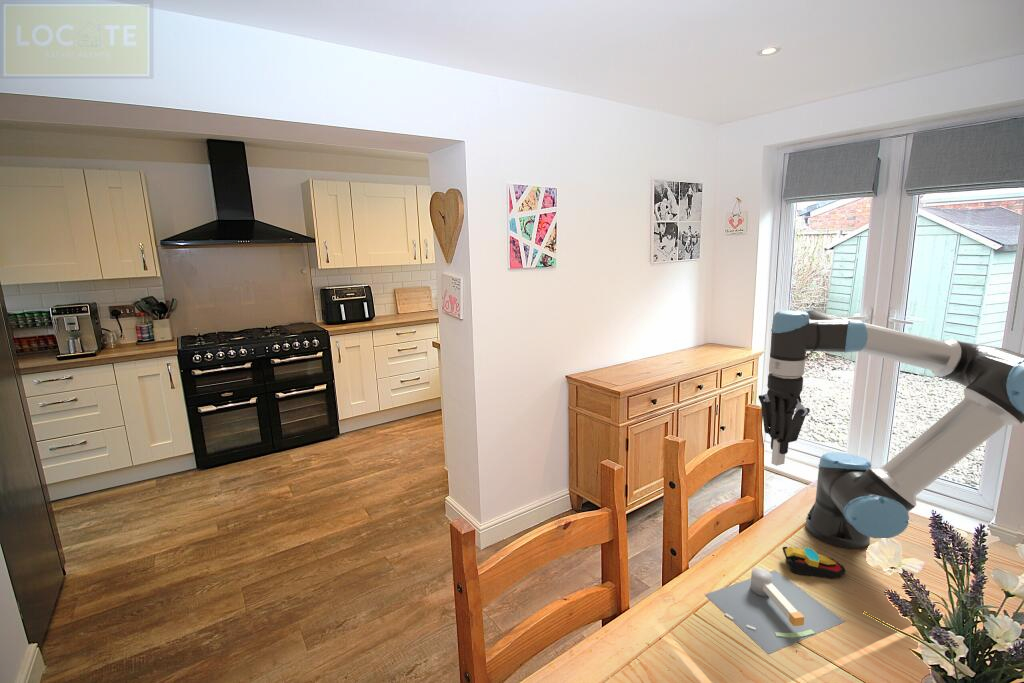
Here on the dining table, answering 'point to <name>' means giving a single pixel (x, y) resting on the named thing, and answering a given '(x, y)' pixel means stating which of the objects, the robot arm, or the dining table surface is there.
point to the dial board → (773, 613)
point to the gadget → (812, 563)
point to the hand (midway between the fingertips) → (777, 463)
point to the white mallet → (774, 595)
